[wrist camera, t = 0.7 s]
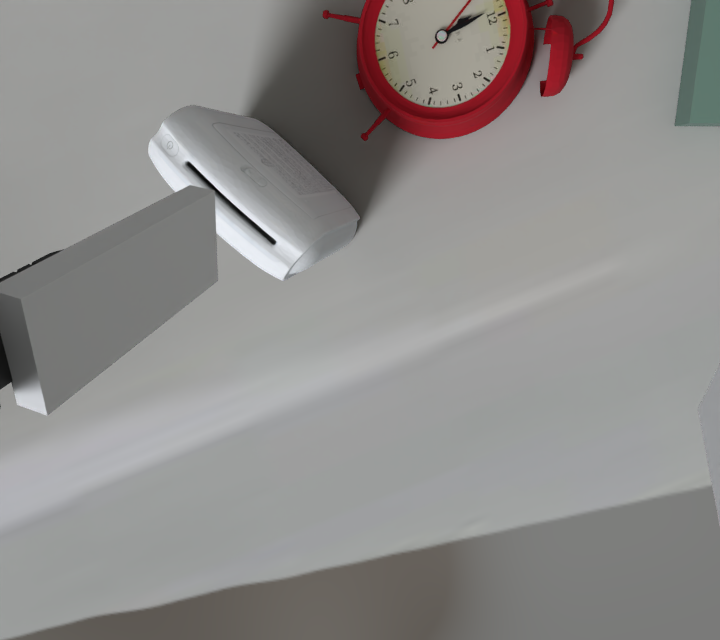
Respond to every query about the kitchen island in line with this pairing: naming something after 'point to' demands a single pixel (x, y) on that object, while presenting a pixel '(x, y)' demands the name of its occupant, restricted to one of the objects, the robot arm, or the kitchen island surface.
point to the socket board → (701, 67)
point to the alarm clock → (454, 60)
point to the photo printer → (255, 188)
